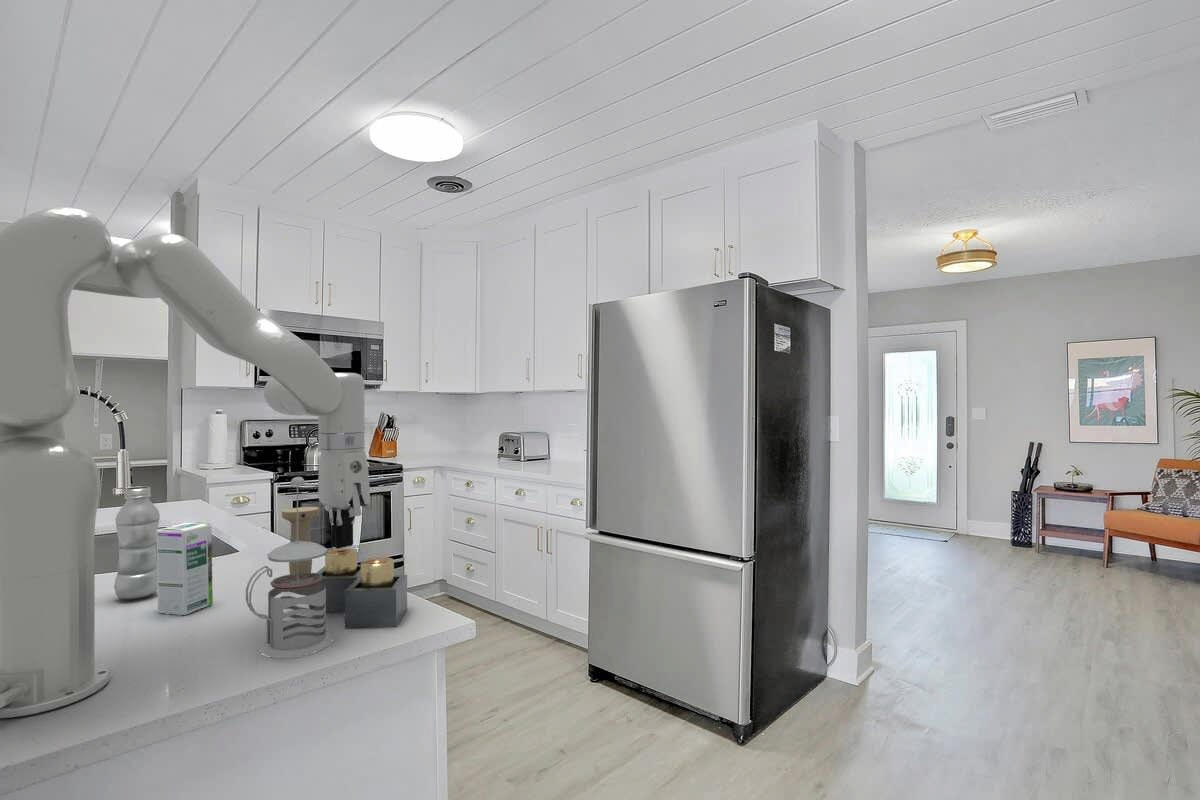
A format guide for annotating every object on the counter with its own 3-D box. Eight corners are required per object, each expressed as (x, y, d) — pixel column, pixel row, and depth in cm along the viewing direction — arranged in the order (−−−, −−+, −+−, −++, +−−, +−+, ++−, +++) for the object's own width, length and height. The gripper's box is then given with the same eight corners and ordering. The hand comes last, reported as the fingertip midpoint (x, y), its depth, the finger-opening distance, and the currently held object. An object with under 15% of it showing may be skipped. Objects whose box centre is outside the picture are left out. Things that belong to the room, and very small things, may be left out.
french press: (343, 645, 91) (344, 477, 91) (257, 669, 83) (257, 484, 83) (319, 626, 98) (319, 471, 98) (237, 647, 90) (237, 477, 90)
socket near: (396, 626, 98) (396, 589, 98) (344, 628, 98) (344, 590, 98) (407, 609, 106) (407, 574, 106) (359, 610, 106) (359, 575, 106)
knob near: (389, 599, 100) (389, 563, 100) (356, 600, 99) (356, 564, 99) (396, 589, 105) (397, 555, 105) (365, 589, 104) (365, 556, 104)
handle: (279, 587, 118) (279, 509, 118) (315, 581, 122) (315, 505, 122) (284, 593, 114) (284, 513, 114) (321, 587, 118) (321, 509, 118)
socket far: (357, 612, 105) (357, 577, 105) (309, 613, 104) (309, 578, 104) (370, 597, 113) (370, 564, 113) (325, 598, 112) (325, 565, 112)
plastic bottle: (105, 601, 109) (104, 489, 109) (143, 590, 116) (143, 484, 116) (131, 605, 107) (131, 491, 107) (168, 593, 114) (168, 486, 114)
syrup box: (185, 616, 102) (185, 529, 102) (155, 613, 104) (155, 528, 103) (213, 605, 108) (213, 522, 108) (184, 602, 109) (185, 521, 109)
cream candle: (351, 586, 106) (352, 553, 106) (320, 587, 105) (320, 554, 105) (360, 577, 111) (360, 546, 111) (330, 578, 111) (331, 546, 111)
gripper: (384, 443, 106) (384, 549, 106) (341, 439, 116) (341, 536, 116) (342, 446, 100) (343, 558, 101) (300, 441, 110) (301, 543, 110)
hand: (342, 546), depth 108 cm, fingers closed
